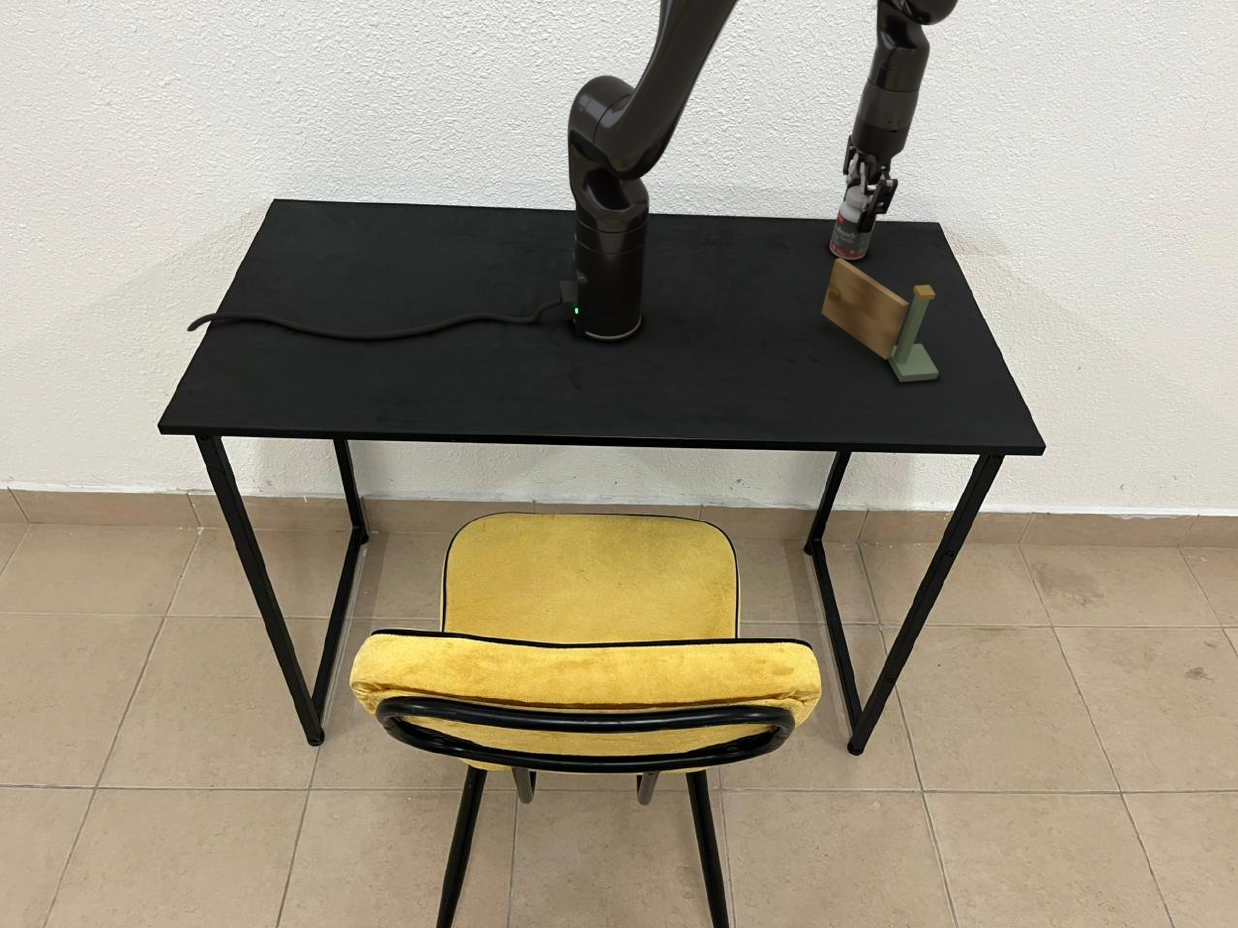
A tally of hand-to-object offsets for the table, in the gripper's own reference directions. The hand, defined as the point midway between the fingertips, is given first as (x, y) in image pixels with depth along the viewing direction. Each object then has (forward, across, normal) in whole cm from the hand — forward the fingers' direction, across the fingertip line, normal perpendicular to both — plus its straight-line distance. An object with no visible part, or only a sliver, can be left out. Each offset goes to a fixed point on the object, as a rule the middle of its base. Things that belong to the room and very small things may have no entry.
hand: (856, 219), depth 138 cm
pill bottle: (+6, 0, 0) cm, 6 cm away
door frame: (+6, +27, -1) cm, 27 cm away
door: (+4, +22, -7) cm, 23 cm away
